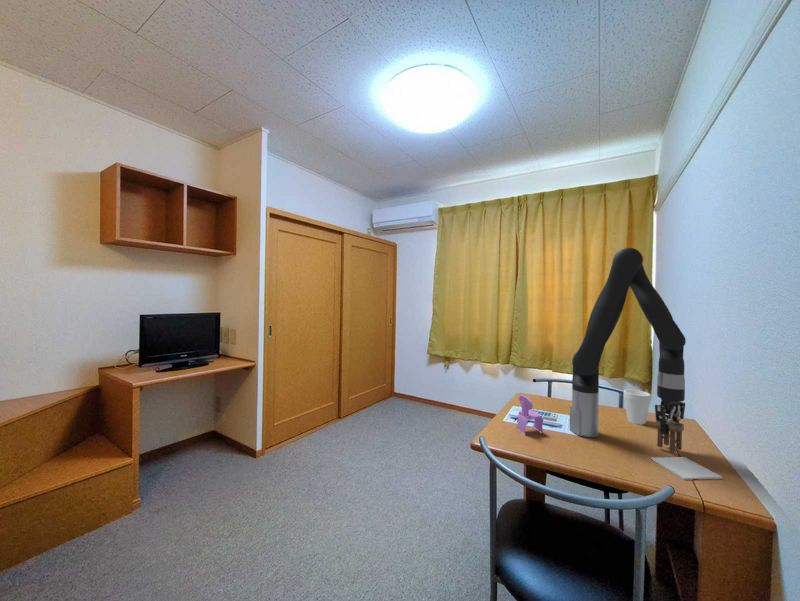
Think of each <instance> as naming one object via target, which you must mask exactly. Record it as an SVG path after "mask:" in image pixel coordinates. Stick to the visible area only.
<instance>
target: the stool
mask: <svg viewBox="0 0 800 601" xmlns="http://www.w3.org/2000/svg"><path fill="white" fill-rule="evenodd" d="M671 420H672V419H670V421H669V434H668V435H665V434H663V433H661V432H660V424H661V423H660V422H658V421H656V420H655V427H657V436H656V437H657V441H656V442H657V444H656V447H660V448H662V447H664V446H663V445H665V446H669V452H671V453H672V452H673V453H676V450H678V451H681V450H682V445H683V444H682V442H683V440H682V439H683V438H682V437H683V431H684V428H685V424H683V423H681V422H679V423H678V422H674V421H671Z"/></svg>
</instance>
